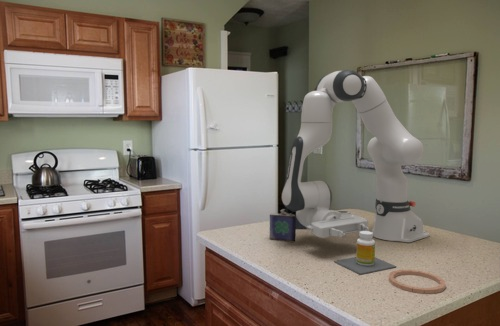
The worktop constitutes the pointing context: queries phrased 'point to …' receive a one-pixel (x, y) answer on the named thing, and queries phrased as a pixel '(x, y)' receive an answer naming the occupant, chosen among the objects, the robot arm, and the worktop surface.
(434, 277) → the segmented terracotta ring
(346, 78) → the robot arm
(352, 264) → the mat
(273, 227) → the flask
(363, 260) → the supplement bottle
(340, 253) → the worktop surface
